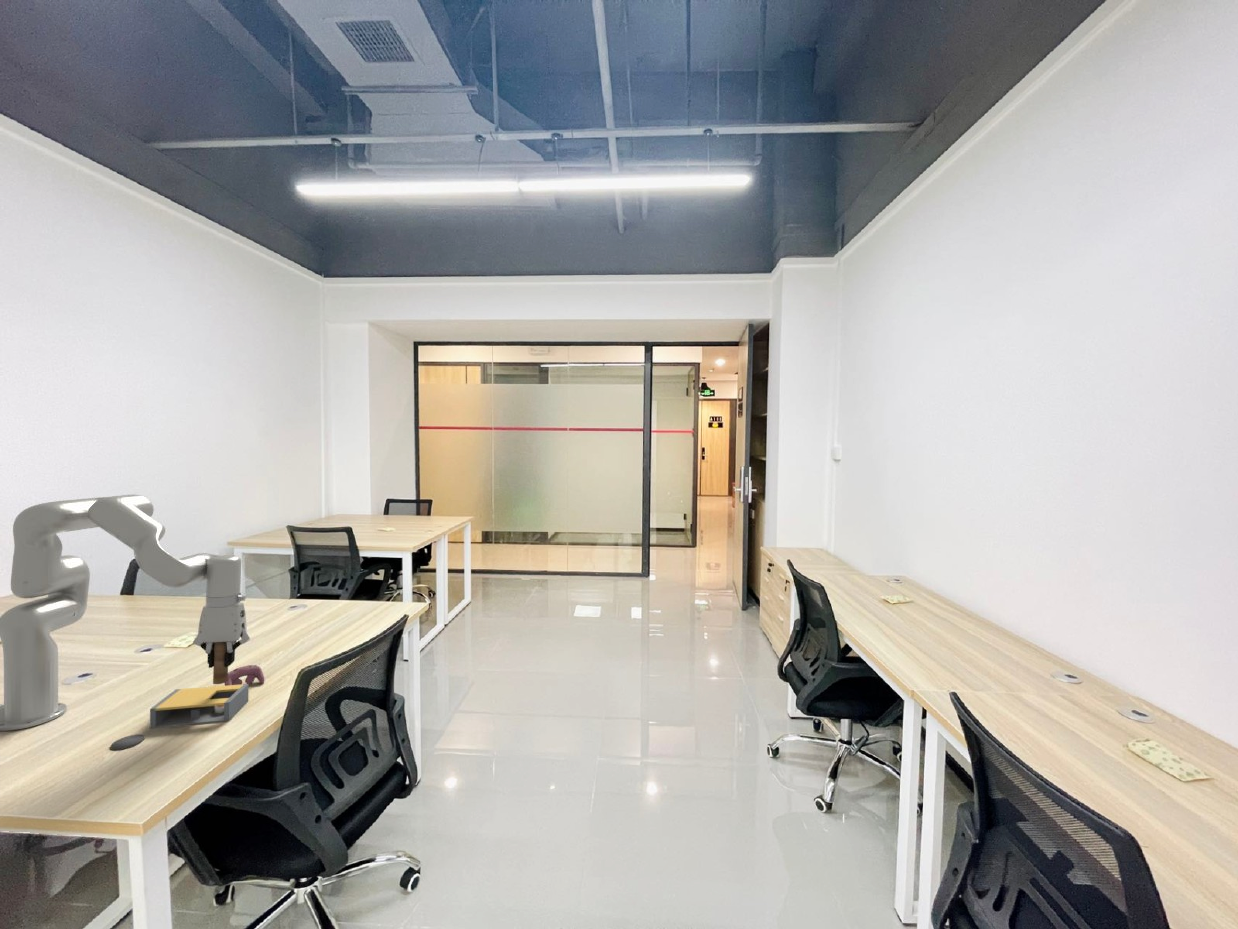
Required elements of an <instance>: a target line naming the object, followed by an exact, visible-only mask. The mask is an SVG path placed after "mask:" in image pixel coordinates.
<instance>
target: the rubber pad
mask: <svg viewBox="0 0 1238 929" xmlns="http://www.w3.org/2000/svg"><path fill="white" fill-rule="evenodd" d="M144 740H145V735H143V734H131V735H127V736H124V737H121V738H119V739H117V740H115V741H114V742H112V743H111V745H110V749H111V750H113V751H120V750H125V749H130V748H132V747H135V746H137V745H139V744H141V743H142V742H143V741H144Z"/></svg>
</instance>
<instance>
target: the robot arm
mask: <svg viewBox="0 0 1238 929" xmlns="http://www.w3.org/2000/svg"><path fill="white" fill-rule="evenodd" d="M154 511H155V509H154V505H153V503H152V502H151V501H150V499H148V498H146V496H143V495H140V494H124V495H123V494H122V495H114V496H105V497H104V496H103V497H91V498H89V497H88V498H80V499H79V498H78V499H66V500H57V501H56V500H55V501H49V502H44V503H38V504H35V505H32V506H29V507H27V508H25V509H23V510H22V511H21V512H19V514H18V515H17V516H16V518H15V519H14V522H13V525H12V533H13V534H12V535H13V545H14V546H13V547H14V548H13V556H12V565H11V576H10V590H11V593H12V594H13V595H14V596H15V597H18V598H20V599H34V598H38V597H39V599H34V600H32V601H28V602H24V603H21V604H18V605H16V606H13V607H11V608H9V609H8V610H6V611H5V612H4V613H3V614H2V615H1V616H0V642H1V645H2V654H3V656H2V658H3V704H0V731H1V732H2V731H6V732H7V731H17V730H22V729H27V728H31V727H35V726H38V725H41V724H44V723H47V722H50V721H52V720H55V719H56V718H58V717H59V718H60V717H61V716H62V715H63V714H65V713H66V711H67V708H68V707H67V705H66V703H63V702H59V648H58V645H57V643H56V641H55V640H54V639H53V637H52V636H51V635H50V634H51V633H53V632H54V631H57V630H60V629H63V628H65V627H67V626H70V625H71V626H72V625H73V624H75V623H77V622H79V620H81V619H82V617H83V616H84V614H85V612H86V611H87V606H88V596H89V589H90V588H89V587H90V576H91V573H90V568H89V566H88V564H87V562H86V561H85V560H84V559H82V558H80V557H78V556H75V555H62V554H63V543H62V540H61V539H60V537H59V535H58V534H61V533H68V532H74V531H82V530H87V529H94V528H99V529H102V530H103V531H104V532H106V533H108V534H109V535H111V537H113V538H115V539H117V540H119V541H120V542H121V543H123V544H124V545H126V547H128V548H130V549H131V550H133V556H134V560H135V561H136V563H137V565H138V567H139V568H140V570H141V571H142V572H143V573H145V574H146V575H147V576H149V577H150V578H152V579H153V580H155V581H156V582H158V583H159V584H161V585H163V586H164V587H165V586H166V587H168V588H173V589H178V588H179V589H180V588H184V587H188V586H189V585H192V584H195V583H198V582H202V581H205V582H206V587H205V588H206V590H205V595H206V596H205V605H203V607H202V610H201V612H200V617H199V622H198V629H197V630H198V632H197V635H196V637H195V638H194V640H193V641H192V644H194V645H196V646H198V647H200V648H201V649H202V650H204V652H205V654H206V655H207V662H206V664H207V665H208V668H209V669H211V668H214V642H227V653H225V667H228V668H229V667H230V666H231V665H232V664H233V663H234V662H235V659H236V650H237V648H238V647H240V646H241V645H243V644H245V643H248V642H249V641H250V639H251V638H250V635H248V632H247V631H248V630H247V626H248V625H247V616H246V614H247V613H246V608H245V604H244V603H243V601H246V595H242V592H241V580H242V579H241V578H242V577H241V576H242V558H241V557H240V556H239V555H233V554H225V555H218V554H212V553H206V552H200V553H196V554H192V555H187V556H184V557H180V558H177V557H176V556H174V555H172V553H169V552H168V551H166V550H165V549H164V548H163V547H162V546H161V544H160V541H161V540H162V538H163V537H164V536H165V533H166V527H165V526H164V525H163V524H162V523H160V522H158V521H157V520H156V519H154V518H153V517H152V516H153V515H154ZM46 595H47V596H46ZM43 596H46V597H43ZM40 597H42V598H40Z"/></svg>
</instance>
